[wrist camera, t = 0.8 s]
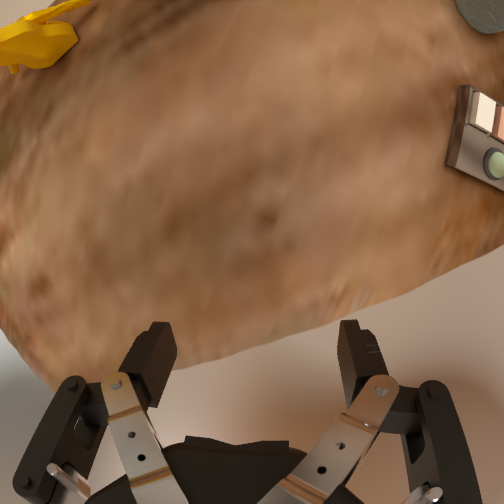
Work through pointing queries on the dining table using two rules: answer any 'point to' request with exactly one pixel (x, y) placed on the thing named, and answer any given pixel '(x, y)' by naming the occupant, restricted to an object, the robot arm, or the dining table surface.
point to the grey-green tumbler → (483, 14)
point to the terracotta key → (498, 124)
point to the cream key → (482, 112)
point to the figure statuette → (38, 38)
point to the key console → (474, 145)
